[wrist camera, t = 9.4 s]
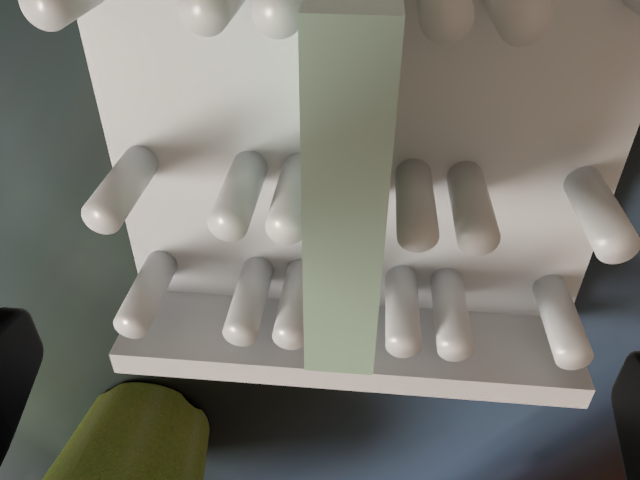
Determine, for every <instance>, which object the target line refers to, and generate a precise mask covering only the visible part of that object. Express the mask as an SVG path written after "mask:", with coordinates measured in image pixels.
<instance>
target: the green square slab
mask: <svg viewBox="0 0 640 480" xmlns="http://www.w3.org/2000/svg"><path fill="white" fill-rule="evenodd" d="M404 26H405V8H404V0H303V2H302V5H301V7H300V9H299V11H298V52H299V108H300V163H301V219H302V275H303V331H304V370H310V371H323V372H337V373H350V374H364V375H373V370H374V359H375V348H376V337H377V326H378V315H379V304H380V292H381V281H382V270H383V259H384V248H385V237H386V226H387V215H388V204H389V192H390V181H391V170H392V159H393V148H394V137H395V126H396V115H397V103H398V92H399V81H400V70H401V59H402V48H403V37H404Z"/></svg>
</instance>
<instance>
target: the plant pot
mask: <svg viewBox="0 0 640 480" xmlns="http://www.w3.org/2000/svg"><path fill="white" fill-rule="evenodd" d="M208 438H209V423H208V419H207V417H206V415H205V414H204V412H203V411H202V410H201V409H197V408H195V407H193V406H192V405H191V404H190V403H188V402H187V400H186V399H185V398H184V397H183V395H182V394H181V393H179V392H177V391H175V390H173V389H170V388H167V387H164V386H160V385H156V384H150V383H141V382H130V383H123V384H119V385H117V386H116V387H114V388H113V389H111V390H109V391H107V392H106V393H103V394H100V395H99V396H98V398H97V399H96V400H95V402H94V403H93V405H92V406H91V408H90V409H89V411H88V412H87V414H86V415H85V417H84V418H83V420H82V421H81V423H80V424H79V426H78V427H77V429H76V430H75V432H74V433H73V435H72V436H71V438H70V439H69V441H68V442H67V444H66V445H65V447H64V448H63V450H62V451H61V453H60V454H59V456H58V457H57V458H56V460H55V461H54V463H53V464H52V466H51V467H50V469H49V470H48V471H47V473H46V474H45V476H44V477H43V479H42V480H203V477H204V469H205V462H206V455H207V447H208Z"/></svg>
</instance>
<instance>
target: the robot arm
mask: <svg viewBox="0 0 640 480" xmlns="http://www.w3.org/2000/svg"><path fill="white" fill-rule="evenodd" d="M42 359H43V344H42V341H41V339H40V336H39V334H38V332H37V329H36V327H35V324H34V322H33V319H32V317H31V315H30V313H29V312H28V311H27V310H25V309H21V308H6V307H2V308H0V466H1V464H2V462H3V460H4V458H5V456H6V453H7V451H8V449H9V447H10V444H11V442H12V439H13V437H14V434H15V432H16V429H17V426H18V424H19V421H20V418H21V416H22V413H23V410H24V408H25V405H26V402H27V400H28V397H29V394H30V392H31V389H32V386H33V384H34V381H35V378H36V376H37V373H38V370H39V368H40V365H41V362H42ZM611 403H612V408H613V413H614V418H615V424H616V429H617V434H618V439H619V444H620V449H621V454H622V459H623V464H624V469H625V475H626V480H640V351H633V352H631V353H630V354H629V355H628V356H627V358H626V360H625V362H624V364H623V366H622V368H621V370H620V372H619V374H618V377H617V379H616V381H615V383H614V385H613V388H612V392H611Z"/></svg>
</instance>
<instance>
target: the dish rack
mask: <svg viewBox="0 0 640 480" xmlns="http://www.w3.org/2000/svg"><path fill="white" fill-rule="evenodd" d="M18 2H19V6H20V9H21V11H22V13H23V14H24V16H25V17H26V19H27V20H28V21H29V22H30V23H31V24H33V25H34V26H35V27H37V28H39V29H41V30H43V31H47V32H55V31H59V30H61V29H63V28H64V27H66V26H67V25H69V24H70V23H72V22H73V21H75V20H76V19H77V22H78V27H79V31H80V35H81V39H82V43H83V47H84V51H85V56H86V60H87V64H88V68H89V72H90V76H91V81H92V85H93V89H94V93H95V97H96V101H97V105H98V110H99V114H100V118H101V122H102V126H103V130H104V135H105V139H106V143H107V147H108V151H109V155H110V160H111V164H112V170H111V171H110V172H109V174H108V175H107V176H106V177H105V179H104V180H103V181H102V183H101V184H100V185H99V186H98V188H97V189H96V190H95V192H94V193H93V194H92V195H91V197H90V198H89V199H88V201H87V202H86V203H85V204H84V206H83V207H82V209H81V217H82V220H83V221H84V223H85V224H86V225H87V226H88V227H89V228H90V229H91V230H93V231H95V232H97V233H100V234H105V235H109V234H113V233H115V232H117V231H118V230H119V229H120V227H121V226H122V224H123V223H124V221H125V222H126V226H127V230H128V234H129V238H130V243H131V247H132V251H133V255H134V259H135V263H136V268H137V272H138V276H137V277H136V279H135V281H134V283H133V285H132V287H131V289H130V290H129V292H128V294H127V296H126V298H125V300H124V302H123V303H122V305H121V307H120V309H119V311H118V313H117V315H116V316H115V318H114V320H113V326H114V328H115V329H116V331H117V332H118V333H119V335H118V337H117V339H116V341H115V343H114V345H113V347H112V349H111V351H110V353H109V357H110V360H111V363H112V366H113V369H114V373H123V374H136V375H149V376H162V377H175V378H188V379H201V380H215V381H228V382H241V383H254V384H267V385H280V386H293V387H306V388H319V389H333V390H346V391H359V392H372V393H385V394H398V395H411V396H424V397H437V398H451V399H464V400H477V401H490V402H503V403H516V404H529V405H542V406H555V407H569V408H582V409H587V408H588V406H589V404H590V402H591V399H592V397H593V395H594V393H595V391H596V390H595V387H594V385H593V382H592V379H591V377H590V374H589V371H588V368H587V366H588V365H589V364H590V363H591V362H592V360H593V358H594V353H593V351H592V348H591V346H590V343H589V340H588V338H587V335H586V333H585V330H584V328H583V325H582V322H581V320H580V317H579V315H578V312H577V310H576V307H575V304H574V303H575V300H576V297H577V294H578V292H579V289H580V286H581V283H582V281H583V278H584V275H585V272H586V270H587V267H588V264H589V261H590V259H591V256H592V253H593V251H594V253H595V255H596V257H597V259H598V260H600V261H601V262H603V263H606V264H620V263H623V262H626V261H628V260H630V259H632V258H633V257H634V256H635V255H636V254H637V253H638V252H639V250H640V237H639V236H638V234H637V232H636V231H635V229H634V227H633V226H632V224H631V222H630V221H629V219H628V217H627V216H626V214H625V212H624V211H623V209H622V207H621V206H620V204H619V203H618V201H617V199H616V198H615V196H614V193H615V190H616V187H617V185H618V182H619V179H620V176H621V174H622V171H623V168H624V165H625V163H626V160H627V157H628V155H629V152H630V149H631V146H632V144H633V141H634V138H635V135H636V133H637V130H638V127H639V124H640V0H404V8H405V26H404V37H403V48H402V59H401V70H400V81H399V92H398V103H397V115H396V126H395V137H394V148H393V159H392V170H391V181H390V192H389V204H388V215H387V226H386V237H385V248H384V259H383V270H382V281H381V292H380V304H379V315H378V326H377V337H376V348H375V359H374V370H373V375H364V374H350V373H337V372H323V371H310V370H304V331H303V275H302V219H301V163H300V108H299V52H298V11H299V9H300V7H301V5H302V2H303V0H18Z"/></svg>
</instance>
